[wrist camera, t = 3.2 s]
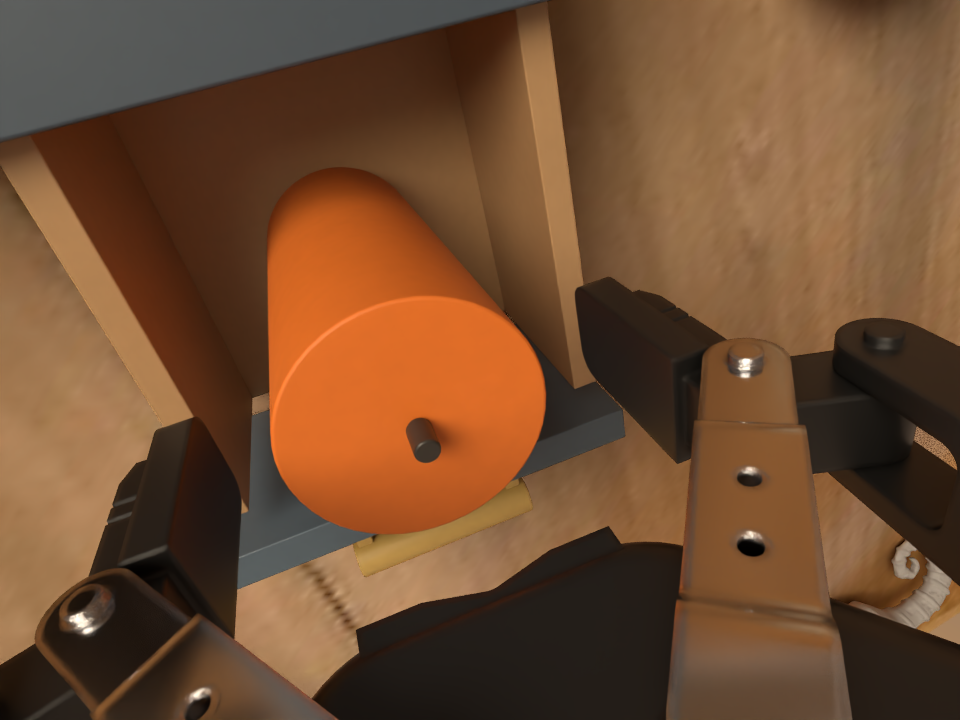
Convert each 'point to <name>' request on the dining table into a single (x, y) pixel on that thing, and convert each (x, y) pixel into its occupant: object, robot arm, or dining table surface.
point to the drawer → (243, 241)
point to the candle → (388, 363)
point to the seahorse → (914, 591)
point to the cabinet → (183, 47)
